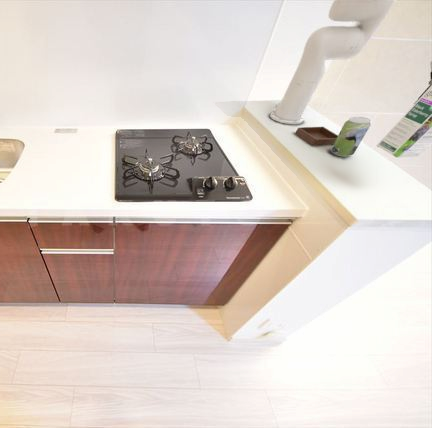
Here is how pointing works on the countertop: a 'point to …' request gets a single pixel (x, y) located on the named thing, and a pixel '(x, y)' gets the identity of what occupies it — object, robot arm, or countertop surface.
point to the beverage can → (350, 136)
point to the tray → (316, 135)
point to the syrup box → (411, 130)
